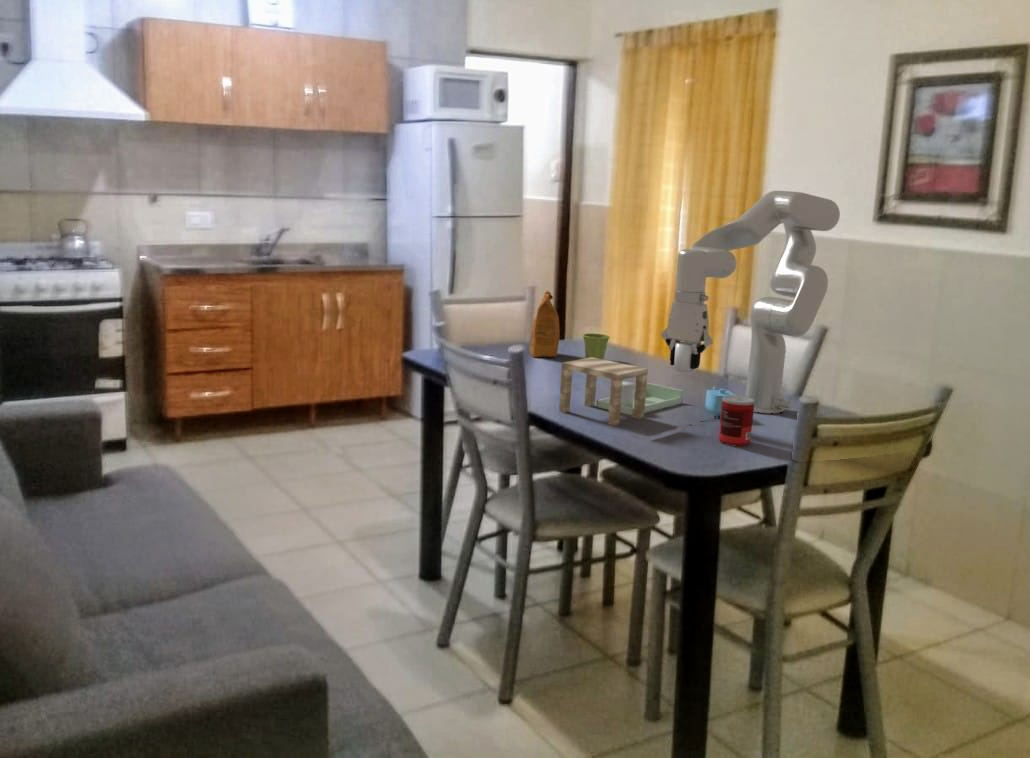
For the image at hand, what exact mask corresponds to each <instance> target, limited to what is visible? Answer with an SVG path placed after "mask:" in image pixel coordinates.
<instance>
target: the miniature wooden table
mask: <svg viewBox="0 0 1030 758" xmlns="http://www.w3.org/2000/svg"><path fill="white" fill-rule="evenodd" d="M648 371H649V370H648V368H645V367H640V366H637V365H631V364H628V363H627V364H626V363H622V362H617V361H612V360H607V359H604V360H603V359H598V358H593V357H591V358H586V357H585V358H580V359H576V360H570V361H569V360H568V361H563V362H562V363H561V372H560V390H559V403H558V404H559V405H558V412H559V413H563V414H567V413H570V411H571V399H572V398H571V395H572V383H573V382H572V380H573V372H577V373H581V374H586V378H585V379H586V380H585V389H584V390H585V393H584V394H585V395H584V406H586V407H588V408H589V407H590V408H591V407H595V406H596V395H597V390H596V389H597V379H598V378H597V377H600V378H604V379H610V395H609V397H610V405H609V410H608V422H607V425H611V426H614V427H615V426H618V425H620V417H621V413H620V407H621V394H622V382H624V381H623V380H628V379H632V378H636V379H635V400H634V412H633V416H632V418H634V419H638V420H640V419H644V418H645V413H644V409H645V397H646V385H647V383H648V382H647V381H648Z"/></svg>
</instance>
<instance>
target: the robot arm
mask: <svg viewBox="0 0 1030 758" xmlns="http://www.w3.org/2000/svg"><path fill="white" fill-rule="evenodd" d="M840 213H841V212H840V209H839V205H838V204H837V203H836V202H835V201H833V200H832V199H829V198H825V197H821V196H816V195H812V194H808V193H804V192H801V191H789V190H788V191H787V190H773V191H770V192H767V193H765V194H764V195H763V196H762V197H761V198H760V199H758V200H757V201H756V202H755V203H754V204H753V205H751V206H750V208H748V209H747V210H746V211H745V212H744V213H743V214H742V215H741V216H739V217H738V218H737V219H735V220H732V221H730V222H728V223H726V224H724V225H721V226H718V227H716V228H714V229H712V230H710V231H709V232H706V233H705V234H704V235H702V236H701V237H700V238H699V239H698V240H696V241H695V242H694V243H693V244H692V245H691V246H690V248H686V249H685V248H684V249H681V250H679V251H678V253H677V261H676V262H677V263H676V264H677V265H676V277H675V292H674V301H672V303H671V306H670V310H669V314H668V320H667V327H665V329H664V330H663V331H662V333H661V334H660V336H661V337H662V338H663V340H664V341H665V343H666V345H667V346H668V349H669V350H670V356H669V357H670V358H669V360H670V362H669V363H670V366H674V359H675V345H676V342H691V343H692V348H693V354H691V364H690V368H691V369H695V370H696V369H699V367H700V364H701V355H702V353H703V352H704V351H705V350H706V349H707V348H708V347H710V346H711V345H713V344H714V343H713V340H712V338H711V336H710V335H709V331H710V330H709V328H710V327H709V310H708V304H707V303H705V301H707V302H708V301H709V298H710V297H709V295H707V294H706V282H707V278H714V279H725V278H728V277H729V276H732V275H733V273H734V272H735V271H736V268H737V259H736V256H735V255H734V253H733V252H731V251H732V250H738V249H745V248H750V247H752V246H756V245H758V244H759V243H761V242H762V241H764V239H765V238H767V237H768V235H769V234H771V233H772V232H773V230H775V229H776V228H777V227H778V226H779V225H781V224H782V225H783V227H784V231H785V237H786V238H785V239H786V240H785V246H784V248H783V251H782V253H781V255H780V257H779V260H778V262H777V264H776V267H774V272H773V273H772V275H771V278H770V282H769V283H770V289H771V290H772V291H773V293H775V294H777V295H780V296H783V297H789V298H794V299H793V300H790V299H787V298H781V297H775V296H763V297H760V298H758V299H756V300H755V302H754V303H753V304H752V306H751V309H750V315H749V316H750V318H749V319H750V327H751V341H750V351H749V361H748V370H747V379H746V380H747V381H746V389H745V390H746V391H745V397H749V398H752V399H753V400H754V412H753V413H758V412H759V414H771V413H773V414H780V412H782V413H784V412H785V410H786V409H788V410H791V409H793V406H794V405H793V403H794V402H793V401H792V400H786V399H785V394H782V386H783V377H784V370H785V369H784V368H785V359H786V353H787V346H786V341H785V338H784V336H788V337H795V338H796V337H797V338H799V337H801V336H802V337H803V336H804V335H806V334H807V332H809V330H810V328H811V327H812V326H813V323H814V321H815V318H816V316H817V314H818V312H819V311H820V310H819V309H820V308H821V306H822V303H823V300H824V298H825V296H826V294H827V290H828V286H829V279H828V275H827V272H826V271H825V270H824V269H823V268H822V267H821V266H817V265H813V262H814V261H813V260H814V258H815V256H816V252H817V245H816V243H817V242H816V240H815V237H814V234H813V232H812V231H818V232H827V231H831V230H833V229H834V228H835V227H836V226H837V224H838V223H839V221H840V216H841V214H840ZM702 342H703V343H702ZM783 411H784V412H783Z"/></svg>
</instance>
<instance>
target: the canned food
mask: <svg viewBox="0 0 1030 758" xmlns="http://www.w3.org/2000/svg"><path fill="white" fill-rule="evenodd" d="M754 413H755V412H754V400H753V399H752V398H749V397H746V395H745V396H744V395H737V394H735V395H727V396H724V397H723V399H722V407H721V416H720V417H719V418H720V419H719V429H718V440H719V442H720V443H721V442H722V443H721V444H723V443H725V444H729V445H728V446H730V445H736V446H735V447H746V446H745V445H747V446H749V444H750V442H751V437H752V429H753V427H752V426H753V419H754ZM725 444H724V445H725Z"/></svg>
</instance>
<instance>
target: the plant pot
mask: <svg viewBox="0 0 1030 758" xmlns="http://www.w3.org/2000/svg"><path fill="white" fill-rule="evenodd" d="M581 336H582V337H583V341H584V353H585V355H584V356H585V359H586V358H591V357H593V358H598V359H603V360H605V354H606V350H607V346H608V345H607V344H608V342H609V339H610V338H611V336H610V335H608V334H602V333H589V332H588V333H582V335H581Z"/></svg>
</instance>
